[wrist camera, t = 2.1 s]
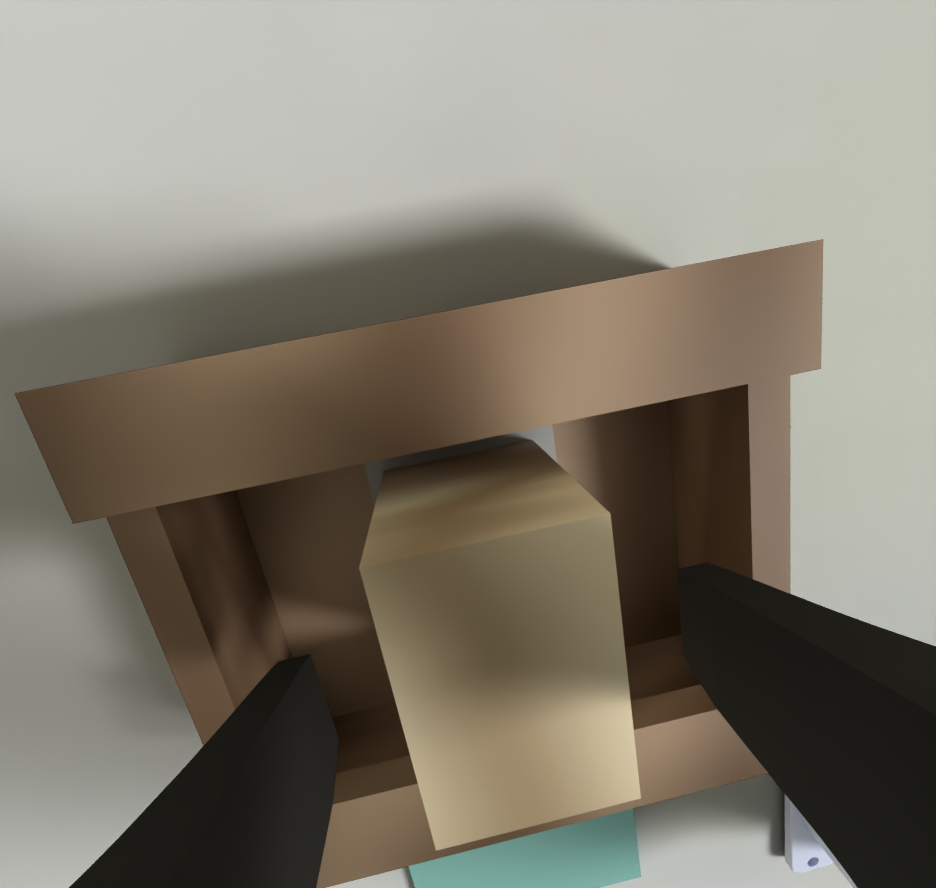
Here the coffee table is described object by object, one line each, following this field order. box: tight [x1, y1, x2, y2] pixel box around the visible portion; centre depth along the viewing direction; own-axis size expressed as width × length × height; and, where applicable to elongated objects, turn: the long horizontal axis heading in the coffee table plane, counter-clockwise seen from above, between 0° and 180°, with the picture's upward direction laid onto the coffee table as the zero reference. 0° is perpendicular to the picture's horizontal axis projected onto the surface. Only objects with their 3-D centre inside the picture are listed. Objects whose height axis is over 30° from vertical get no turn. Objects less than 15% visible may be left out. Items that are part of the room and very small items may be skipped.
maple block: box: [359, 440, 641, 851], centre depth 10 cm, size 4×6×5 cm, turn 10°
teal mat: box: [408, 808, 641, 888], centre depth 18 cm, size 9×9×1 cm
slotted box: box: [15, 239, 823, 888], centre depth 12 cm, size 15×13×5 cm
